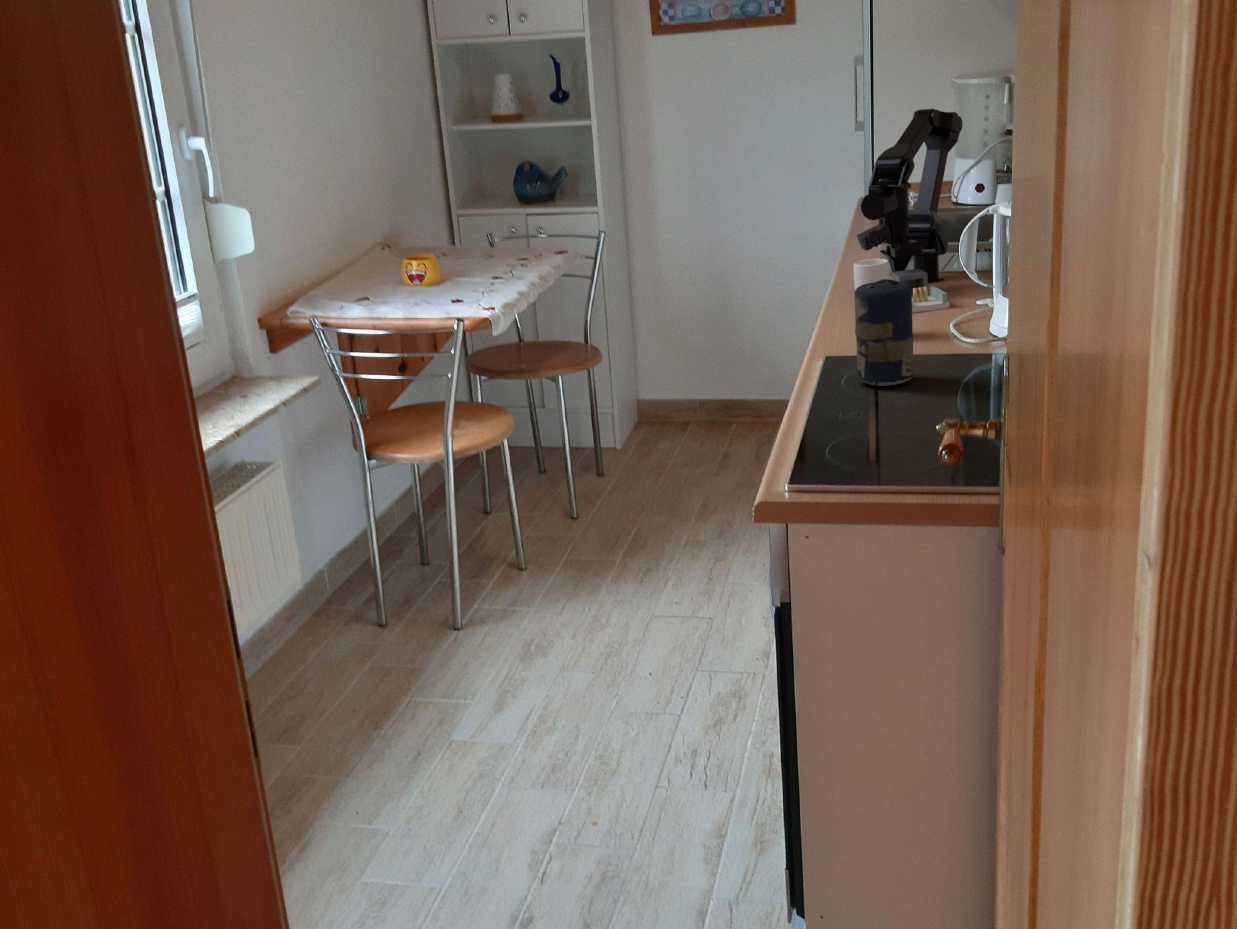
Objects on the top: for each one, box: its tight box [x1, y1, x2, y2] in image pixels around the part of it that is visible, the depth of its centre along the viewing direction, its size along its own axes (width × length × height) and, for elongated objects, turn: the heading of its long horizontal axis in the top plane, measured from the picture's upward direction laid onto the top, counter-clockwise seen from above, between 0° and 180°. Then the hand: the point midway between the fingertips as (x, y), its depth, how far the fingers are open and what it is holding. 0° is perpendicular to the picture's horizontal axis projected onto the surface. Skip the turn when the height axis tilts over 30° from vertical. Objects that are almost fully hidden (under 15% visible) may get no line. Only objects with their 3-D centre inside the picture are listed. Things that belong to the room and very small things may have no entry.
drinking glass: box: [853, 258, 891, 292], centre depth 234 cm, size 7×7×15 cm
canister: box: [854, 278, 915, 383], centre depth 204 cm, size 10×10×18 cm
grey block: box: [891, 268, 929, 293], centre depth 261 cm, size 6×6×5 cm
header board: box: [912, 283, 950, 314], centre depth 260 cm, size 18×11×4 cm, turn 5°
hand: (897, 282), depth 270 cm, fingers closed
